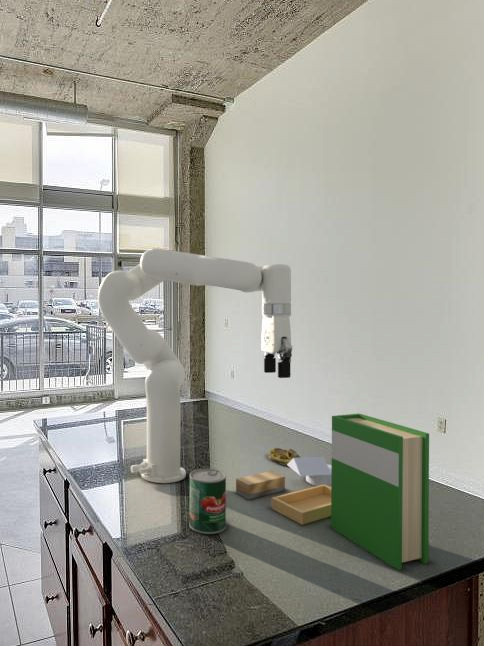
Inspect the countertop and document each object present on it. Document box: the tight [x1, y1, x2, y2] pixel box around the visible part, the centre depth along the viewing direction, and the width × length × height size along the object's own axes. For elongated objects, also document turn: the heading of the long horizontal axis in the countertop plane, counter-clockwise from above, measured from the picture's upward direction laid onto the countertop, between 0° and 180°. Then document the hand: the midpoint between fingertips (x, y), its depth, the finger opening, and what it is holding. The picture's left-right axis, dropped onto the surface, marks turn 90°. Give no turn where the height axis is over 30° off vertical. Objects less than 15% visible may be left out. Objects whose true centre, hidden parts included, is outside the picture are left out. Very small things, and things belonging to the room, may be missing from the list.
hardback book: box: [330, 412, 430, 570], centre depth 97 cm, size 18×7×24 cm, turn 21°
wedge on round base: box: [287, 456, 332, 487], centre depth 131 cm, size 9×7×13 cm
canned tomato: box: [188, 468, 227, 535], centre depth 104 cm, size 8×8×11 cm
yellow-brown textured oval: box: [267, 447, 301, 467], centre depth 149 cm, size 9×5×15 cm
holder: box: [271, 484, 331, 525], centre depth 113 cm, size 18×10×3 cm, turn 120°
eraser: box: [235, 470, 286, 500], centre depth 123 cm, size 12×5×4 cm, turn 120°
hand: (276, 374), depth 129 cm, fingers open, 9 cm apart
